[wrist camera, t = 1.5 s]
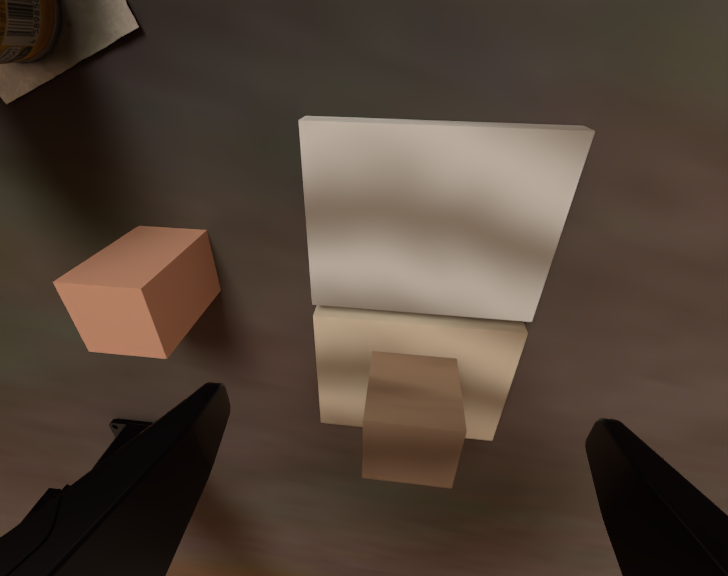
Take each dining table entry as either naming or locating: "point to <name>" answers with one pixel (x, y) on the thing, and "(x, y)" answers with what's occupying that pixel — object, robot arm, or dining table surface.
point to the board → (431, 247)
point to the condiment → (54, 38)
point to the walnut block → (413, 420)
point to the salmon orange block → (141, 291)
